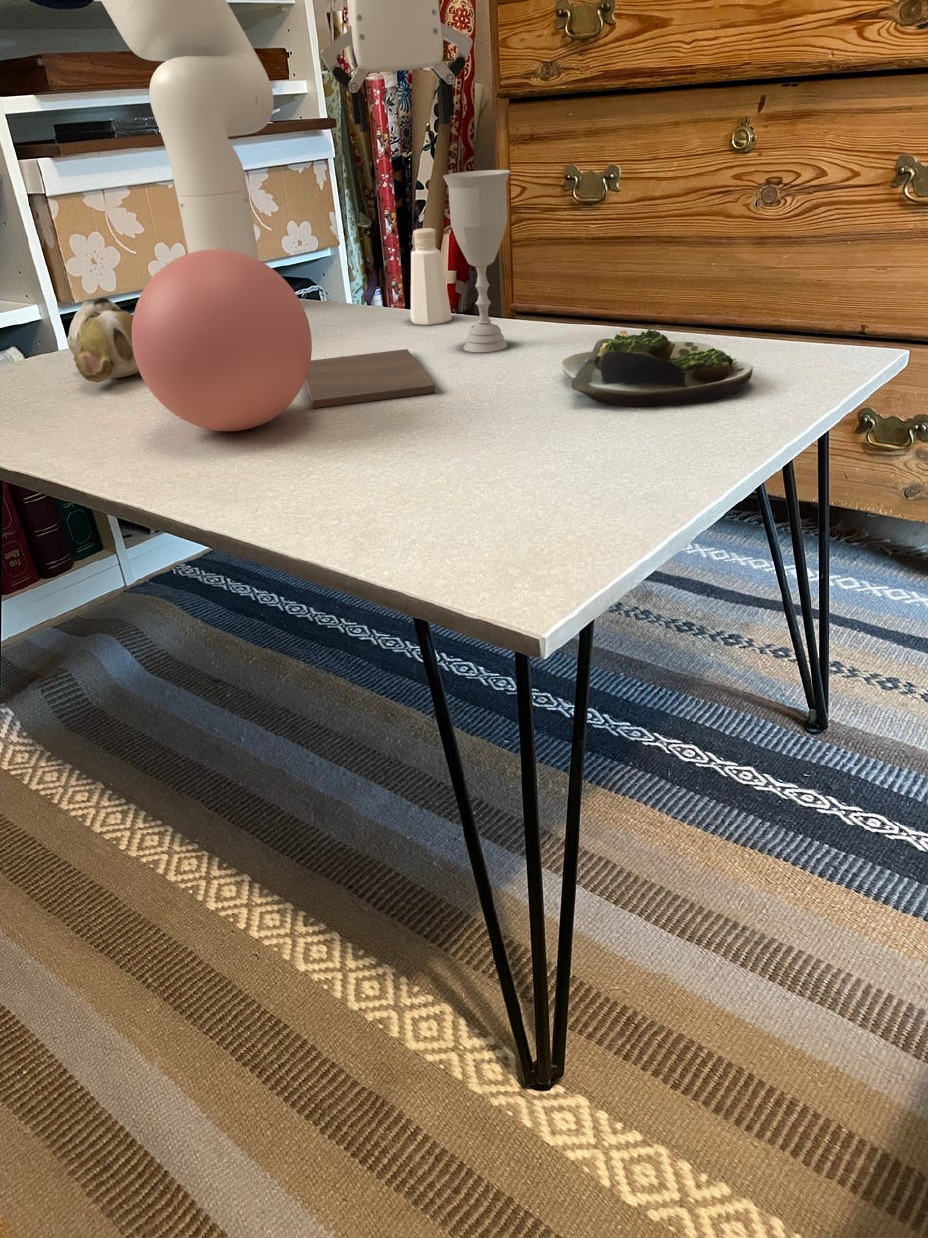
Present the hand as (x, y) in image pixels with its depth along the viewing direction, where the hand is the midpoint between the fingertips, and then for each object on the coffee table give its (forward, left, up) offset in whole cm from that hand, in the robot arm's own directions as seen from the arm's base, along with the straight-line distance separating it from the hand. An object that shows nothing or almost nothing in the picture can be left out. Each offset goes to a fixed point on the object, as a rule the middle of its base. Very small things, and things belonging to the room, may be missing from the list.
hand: (404, 127), depth 111 cm
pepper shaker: (0, +1, -23) cm, 23 cm away
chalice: (+17, +4, -23) cm, 28 cm away
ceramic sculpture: (+10, -37, -23) cm, 44 cm away
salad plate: (+39, +15, -23) cm, 47 cm away
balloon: (+33, -25, -23) cm, 47 cm away
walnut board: (+25, -11, -22) cm, 35 cm away
